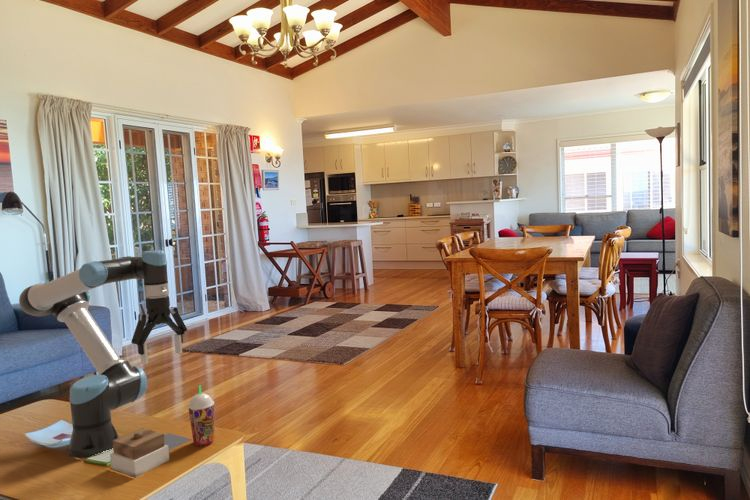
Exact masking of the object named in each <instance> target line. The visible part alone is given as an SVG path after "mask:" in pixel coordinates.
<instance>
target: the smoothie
mask: <svg viewBox="0 0 750 500" xmlns="http://www.w3.org/2000/svg"><path fill="white" fill-rule="evenodd" d="M187 407H188V415H189V421H190V427H191V434H192V441H193V443H194V445H195V446H197V447H206V446H210V445H211V444H213V443H214V440H215V400H213V398H212V397H211V395H209V394H208V393H205V392H202V385H198V393H196V394H195V395H193V396H192V398H190V401H189V404H188V406H187Z"/></svg>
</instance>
